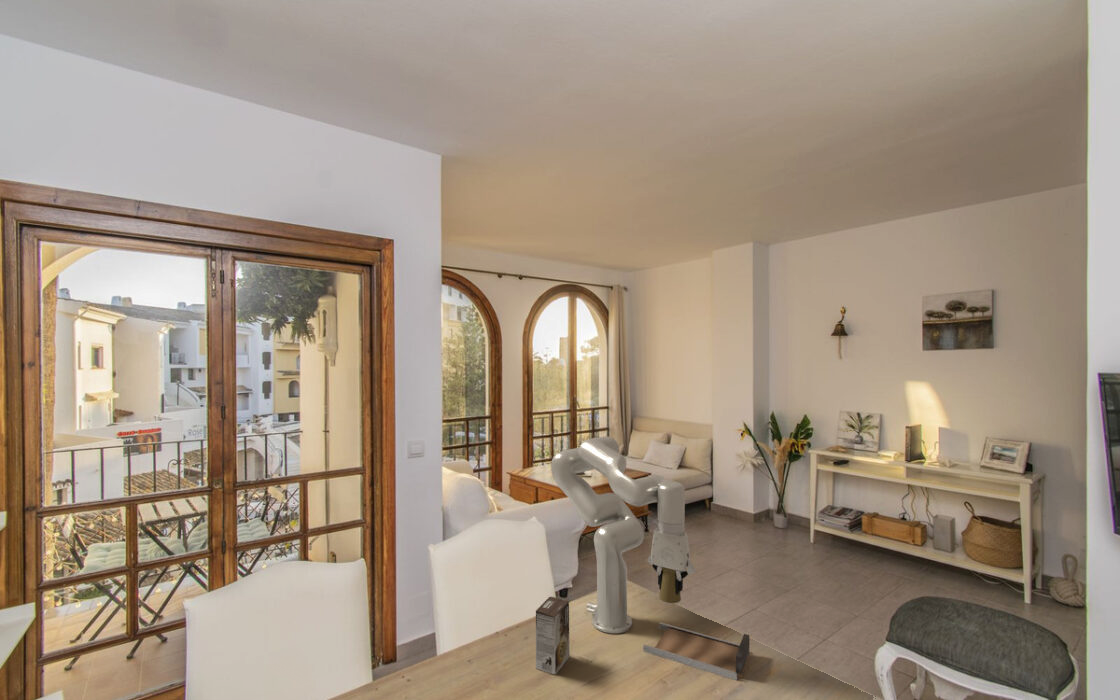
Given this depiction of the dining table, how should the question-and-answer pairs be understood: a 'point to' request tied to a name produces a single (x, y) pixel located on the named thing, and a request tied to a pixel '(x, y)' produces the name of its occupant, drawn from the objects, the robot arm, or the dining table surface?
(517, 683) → the dining table surface
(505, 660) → the dining table surface
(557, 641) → the coffee box
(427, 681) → the dining table surface
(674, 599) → the cork
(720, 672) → the rails
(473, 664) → the dining table surface
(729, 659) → the brown tray
